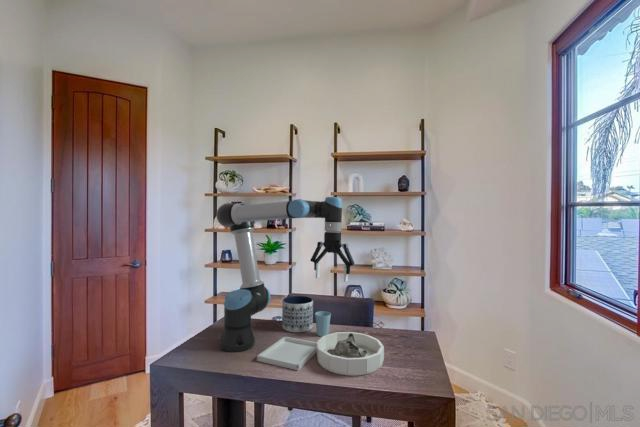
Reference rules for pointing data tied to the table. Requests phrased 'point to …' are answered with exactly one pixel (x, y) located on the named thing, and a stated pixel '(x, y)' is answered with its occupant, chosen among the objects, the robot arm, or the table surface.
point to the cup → (322, 322)
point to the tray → (289, 353)
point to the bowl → (346, 363)
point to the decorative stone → (347, 348)
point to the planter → (297, 313)
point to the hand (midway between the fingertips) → (331, 279)
